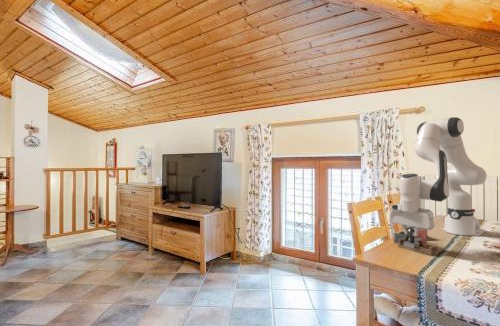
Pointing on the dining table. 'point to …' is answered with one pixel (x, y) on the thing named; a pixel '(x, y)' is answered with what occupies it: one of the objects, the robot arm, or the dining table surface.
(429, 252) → the track
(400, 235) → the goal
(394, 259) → the dining table surface
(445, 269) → the dining table surface
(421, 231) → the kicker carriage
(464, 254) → the dining table surface
